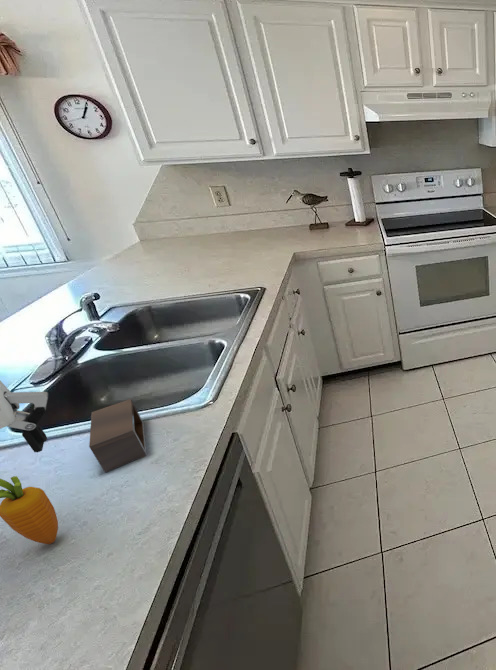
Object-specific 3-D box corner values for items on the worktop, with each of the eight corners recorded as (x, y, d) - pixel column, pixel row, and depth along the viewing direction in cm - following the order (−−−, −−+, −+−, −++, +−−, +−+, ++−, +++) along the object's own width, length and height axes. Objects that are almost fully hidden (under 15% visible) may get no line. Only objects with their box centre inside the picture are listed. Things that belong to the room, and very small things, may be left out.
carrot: (76, 538, 69) (31, 475, 63) (35, 563, 66) (-18, 499, 59) (68, 523, 72) (23, 461, 65) (28, 546, 68) (-24, 483, 62)
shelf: (146, 455, 86) (133, 430, 83) (105, 472, 82) (89, 446, 79) (143, 422, 94) (131, 398, 91) (105, 436, 91) (91, 412, 88)
